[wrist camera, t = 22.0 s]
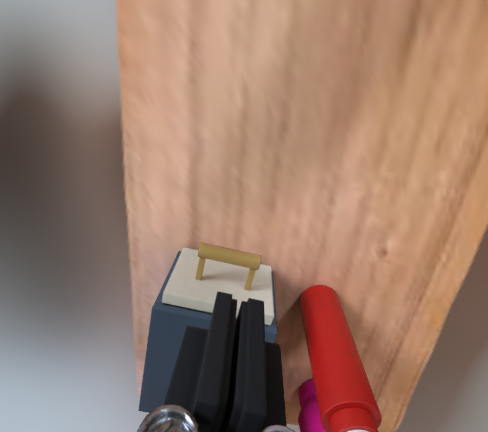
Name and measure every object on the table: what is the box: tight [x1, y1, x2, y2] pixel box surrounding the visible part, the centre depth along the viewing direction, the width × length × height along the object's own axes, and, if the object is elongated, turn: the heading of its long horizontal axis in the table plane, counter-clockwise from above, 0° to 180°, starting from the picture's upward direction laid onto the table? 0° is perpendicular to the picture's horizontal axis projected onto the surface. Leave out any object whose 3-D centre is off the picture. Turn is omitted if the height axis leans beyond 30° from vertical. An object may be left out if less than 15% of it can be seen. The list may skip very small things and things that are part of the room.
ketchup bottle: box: [300, 285, 381, 432], centre depth 30 cm, size 5×5×18 cm
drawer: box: [162, 243, 274, 325], centre depth 34 cm, size 18×10×8 cm, turn 167°
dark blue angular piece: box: [139, 251, 277, 413], centre depth 35 cm, size 15×12×10 cm
